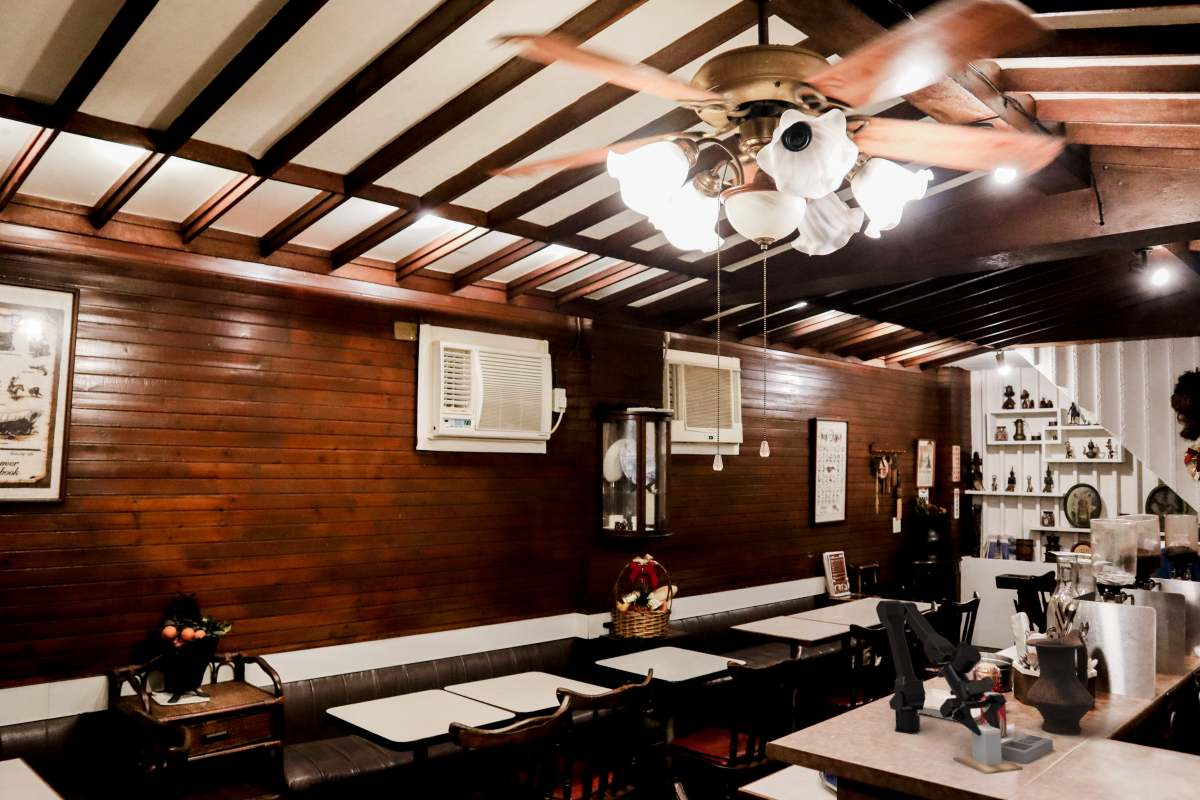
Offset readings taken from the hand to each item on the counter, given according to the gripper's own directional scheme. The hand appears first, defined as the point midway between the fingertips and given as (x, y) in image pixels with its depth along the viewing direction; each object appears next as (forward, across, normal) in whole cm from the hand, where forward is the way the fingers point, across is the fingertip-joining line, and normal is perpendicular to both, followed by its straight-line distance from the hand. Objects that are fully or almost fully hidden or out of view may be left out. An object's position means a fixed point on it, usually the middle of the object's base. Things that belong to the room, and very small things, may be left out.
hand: (989, 734), depth 229 cm
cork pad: (+5, 0, +7) cm, 8 cm away
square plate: (-28, +28, +41) cm, 57 cm away
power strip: (+2, +17, +10) cm, 20 cm away
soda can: (-10, +22, +22) cm, 33 cm away
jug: (-8, +46, +20) cm, 51 cm away
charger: (+4, 0, +6) cm, 8 cm away
